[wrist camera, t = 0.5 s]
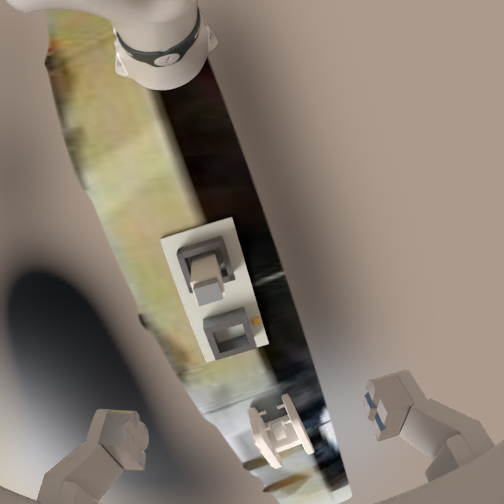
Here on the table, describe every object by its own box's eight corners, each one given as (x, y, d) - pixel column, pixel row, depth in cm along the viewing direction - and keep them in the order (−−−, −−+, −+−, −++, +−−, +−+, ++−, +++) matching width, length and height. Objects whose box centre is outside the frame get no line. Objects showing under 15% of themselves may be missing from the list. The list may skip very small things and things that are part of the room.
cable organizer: (303, 424, 69) (317, 456, 57) (265, 440, 68) (274, 473, 57) (286, 388, 64) (300, 421, 53) (242, 405, 64) (251, 440, 53)
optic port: (202, 319, 56) (203, 329, 52) (243, 306, 57) (247, 315, 53) (214, 349, 58) (215, 360, 54) (253, 337, 59) (257, 347, 55)
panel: (160, 238, 52) (156, 244, 48) (231, 216, 53) (234, 220, 49) (206, 359, 59) (207, 373, 55) (267, 341, 60) (273, 354, 56)
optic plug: (192, 256, 53) (189, 288, 38) (214, 249, 53) (220, 278, 38) (197, 272, 54) (197, 309, 38) (219, 265, 54) (227, 300, 39)
